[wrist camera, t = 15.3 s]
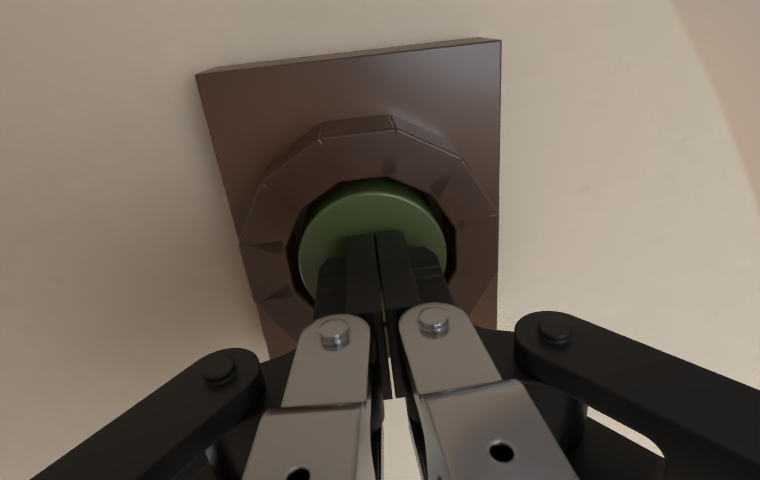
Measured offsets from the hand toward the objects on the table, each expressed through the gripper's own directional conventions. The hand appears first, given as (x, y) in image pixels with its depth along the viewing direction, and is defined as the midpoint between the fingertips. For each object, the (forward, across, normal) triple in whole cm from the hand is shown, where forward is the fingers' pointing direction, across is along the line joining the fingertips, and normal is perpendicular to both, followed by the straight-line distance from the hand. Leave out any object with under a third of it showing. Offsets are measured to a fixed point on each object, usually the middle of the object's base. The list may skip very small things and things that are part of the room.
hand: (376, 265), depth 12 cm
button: (+2, 0, 0) cm, 2 cm away
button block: (+4, 0, 0) cm, 4 cm away
